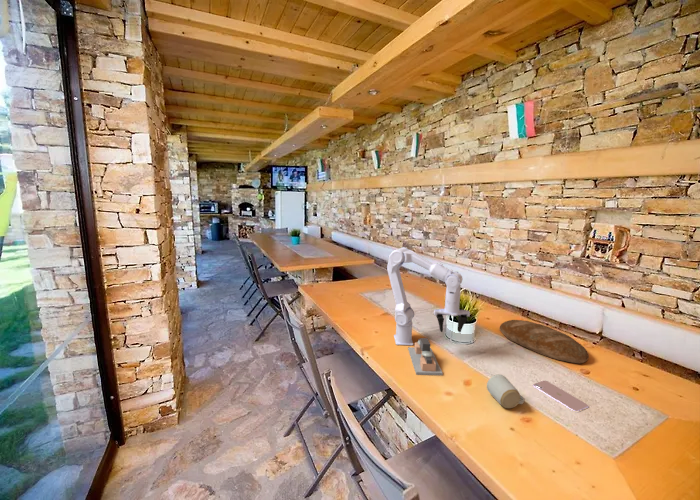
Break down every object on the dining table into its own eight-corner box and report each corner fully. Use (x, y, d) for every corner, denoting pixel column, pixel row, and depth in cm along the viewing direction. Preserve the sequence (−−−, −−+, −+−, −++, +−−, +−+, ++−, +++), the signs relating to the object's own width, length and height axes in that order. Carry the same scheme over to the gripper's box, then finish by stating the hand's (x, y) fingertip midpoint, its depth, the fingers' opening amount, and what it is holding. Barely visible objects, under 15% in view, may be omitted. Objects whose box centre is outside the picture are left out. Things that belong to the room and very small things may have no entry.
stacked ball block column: (415, 342, 130) (416, 331, 129) (424, 342, 129) (425, 331, 129) (423, 363, 113) (424, 351, 112) (434, 363, 113) (435, 351, 112)
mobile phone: (575, 411, 93) (531, 383, 107) (575, 414, 93) (530, 386, 107) (590, 405, 96) (545, 379, 110) (590, 407, 96) (544, 381, 110)
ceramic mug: (500, 411, 94) (503, 389, 92) (485, 394, 102) (487, 374, 100) (530, 408, 95) (533, 387, 94) (512, 392, 103) (515, 372, 102)
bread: (515, 325, 159) (516, 310, 157) (598, 357, 127) (601, 339, 125) (488, 333, 148) (490, 317, 147) (572, 371, 116) (575, 351, 115)
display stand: (408, 349, 131) (408, 338, 130) (430, 350, 131) (431, 338, 130) (416, 374, 113) (416, 361, 112) (442, 375, 112) (443, 362, 111)
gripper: (437, 303, 120) (435, 334, 123) (473, 304, 120) (470, 335, 122) (433, 298, 127) (431, 327, 130) (467, 298, 127) (464, 328, 129)
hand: (450, 331), depth 126 cm, fingers open, 7 cm apart
